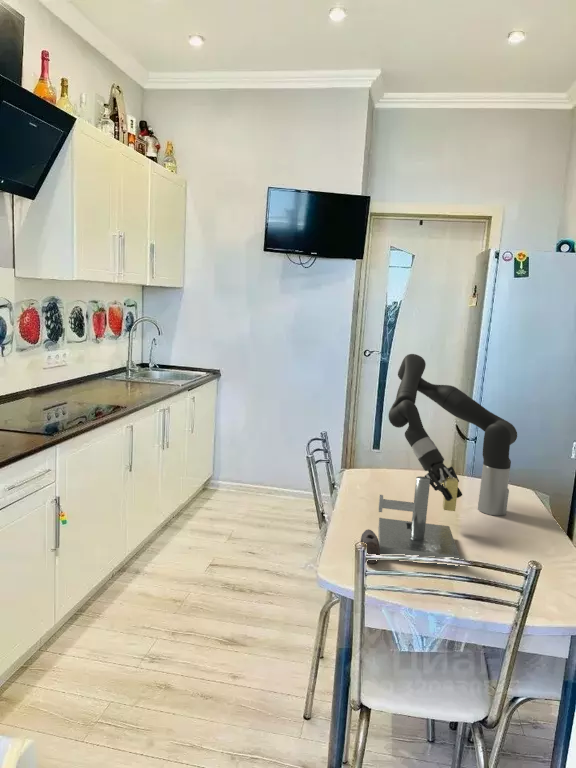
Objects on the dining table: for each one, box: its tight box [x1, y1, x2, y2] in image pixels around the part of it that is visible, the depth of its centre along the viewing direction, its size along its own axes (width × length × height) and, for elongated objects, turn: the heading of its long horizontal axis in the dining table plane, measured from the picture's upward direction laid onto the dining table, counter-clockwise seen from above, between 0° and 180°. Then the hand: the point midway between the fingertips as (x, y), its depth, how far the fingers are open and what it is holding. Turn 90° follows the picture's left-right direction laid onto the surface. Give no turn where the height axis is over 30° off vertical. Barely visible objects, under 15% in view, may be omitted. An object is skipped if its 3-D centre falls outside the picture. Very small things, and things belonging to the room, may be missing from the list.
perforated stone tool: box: [360, 529, 380, 564], centre depth 158 cm, size 15×5×7 cm, turn 175°
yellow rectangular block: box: [442, 477, 459, 512], centre depth 180 cm, size 4×4×10 cm
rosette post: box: [377, 475, 461, 569], centre depth 164 cm, size 23×22×22 cm
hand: (455, 498), depth 178 cm, fingers closed on yellow rectangular block, 5 cm apart
